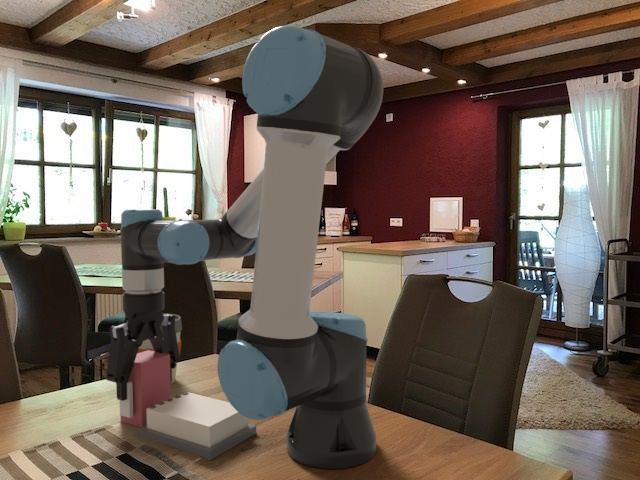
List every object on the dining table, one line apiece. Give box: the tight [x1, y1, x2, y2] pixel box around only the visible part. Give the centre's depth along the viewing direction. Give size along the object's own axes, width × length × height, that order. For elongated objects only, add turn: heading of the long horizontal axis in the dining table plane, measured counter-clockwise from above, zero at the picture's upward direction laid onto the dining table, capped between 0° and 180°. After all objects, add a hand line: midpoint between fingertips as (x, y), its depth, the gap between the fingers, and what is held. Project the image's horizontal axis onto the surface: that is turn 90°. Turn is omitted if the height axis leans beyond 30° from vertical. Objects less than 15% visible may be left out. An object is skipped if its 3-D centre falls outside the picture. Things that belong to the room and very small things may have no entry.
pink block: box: [120, 350, 172, 428], centre depth 103 cm, size 6×7×12 cm
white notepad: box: [138, 391, 257, 461], centre depth 96 cm, size 17×12×5 cm
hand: (146, 407), depth 103 cm, fingers open, 8 cm apart
